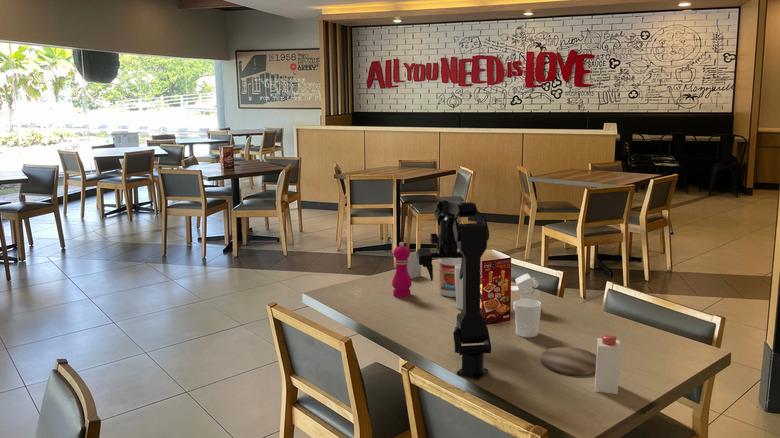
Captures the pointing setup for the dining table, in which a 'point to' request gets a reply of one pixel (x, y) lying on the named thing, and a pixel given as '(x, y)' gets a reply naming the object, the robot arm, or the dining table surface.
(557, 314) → the dining table surface
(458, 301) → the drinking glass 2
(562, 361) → the walnut serving board
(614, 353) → the square squeeze bottle
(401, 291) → the pepper mill
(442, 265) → the fruit juice
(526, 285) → the character figurine
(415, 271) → the tea bag
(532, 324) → the white cup
